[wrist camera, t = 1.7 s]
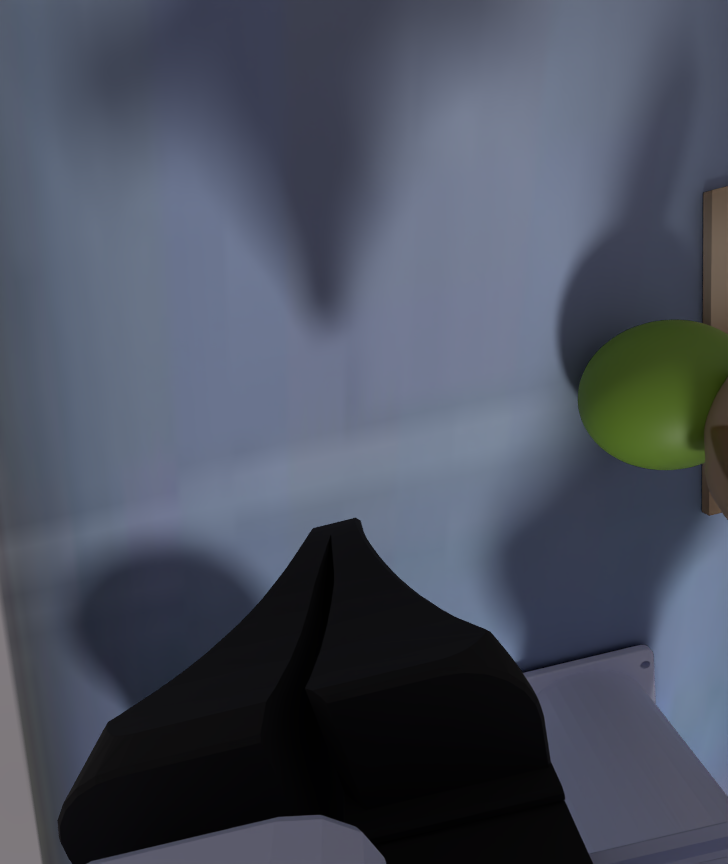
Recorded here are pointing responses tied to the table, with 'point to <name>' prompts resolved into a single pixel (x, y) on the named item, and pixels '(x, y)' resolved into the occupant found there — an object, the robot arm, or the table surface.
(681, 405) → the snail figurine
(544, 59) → the table surface
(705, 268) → the cork mat
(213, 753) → the robot arm
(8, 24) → the table surface
